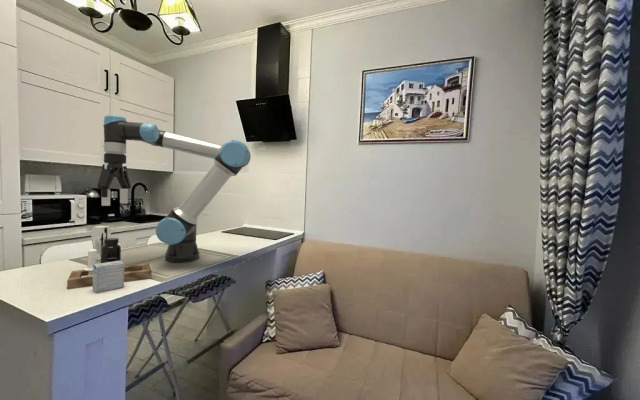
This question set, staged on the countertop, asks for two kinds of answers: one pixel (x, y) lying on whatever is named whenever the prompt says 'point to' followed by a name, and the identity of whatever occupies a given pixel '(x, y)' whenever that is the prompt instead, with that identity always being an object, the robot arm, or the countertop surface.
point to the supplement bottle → (110, 250)
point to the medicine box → (108, 276)
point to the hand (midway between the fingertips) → (115, 204)
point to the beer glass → (100, 237)
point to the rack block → (130, 274)
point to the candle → (91, 260)
